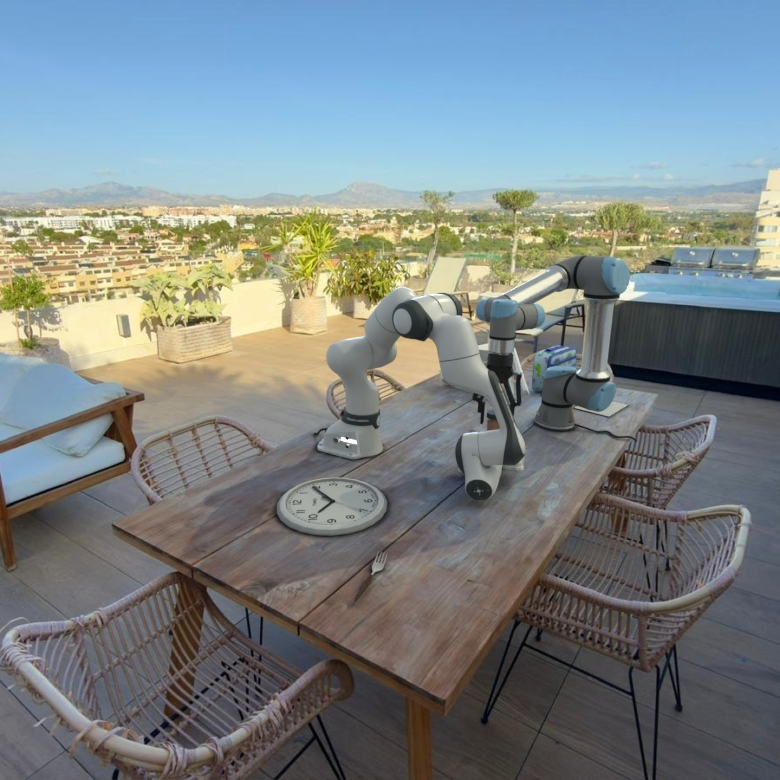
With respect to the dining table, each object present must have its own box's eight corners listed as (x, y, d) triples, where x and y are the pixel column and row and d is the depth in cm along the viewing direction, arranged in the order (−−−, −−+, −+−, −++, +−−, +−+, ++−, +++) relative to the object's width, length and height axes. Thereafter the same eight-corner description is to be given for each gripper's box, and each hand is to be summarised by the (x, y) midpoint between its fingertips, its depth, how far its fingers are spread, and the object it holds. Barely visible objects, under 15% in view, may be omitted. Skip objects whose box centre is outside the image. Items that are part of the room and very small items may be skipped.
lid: (483, 415, 163) (483, 410, 162) (498, 413, 165) (498, 408, 164) (492, 421, 158) (493, 416, 158) (507, 419, 160) (508, 414, 160)
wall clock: (392, 527, 129) (268, 531, 127) (391, 533, 130) (269, 537, 127) (383, 473, 158) (282, 475, 155) (383, 478, 158) (282, 480, 156)
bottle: (484, 464, 169) (488, 412, 164) (499, 466, 168) (503, 414, 163) (483, 470, 165) (487, 417, 160) (498, 472, 164) (502, 419, 159)
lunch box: (548, 398, 236) (553, 353, 229) (527, 393, 243) (531, 349, 237) (575, 387, 253) (581, 344, 247) (555, 382, 260) (560, 341, 254)
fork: (349, 601, 106) (348, 593, 105) (377, 557, 120) (377, 550, 120) (360, 605, 105) (360, 596, 105) (388, 560, 119) (388, 552, 119)
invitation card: (608, 416, 214) (573, 407, 224) (608, 416, 214) (573, 408, 224) (628, 404, 229) (594, 396, 238) (628, 405, 229) (594, 397, 238)
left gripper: (524, 461, 149) (527, 443, 162) (453, 451, 155) (462, 434, 167) (522, 481, 151) (525, 462, 163) (452, 470, 157) (460, 453, 169)
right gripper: (536, 352, 156) (529, 424, 163) (469, 346, 162) (464, 416, 168) (534, 358, 149) (527, 432, 156) (464, 352, 155) (460, 424, 162)
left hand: (493, 448), depth 165 cm, fingers closed on bottle, 4 cm apart
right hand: (494, 424), depth 162 cm, fingers open, 7 cm apart
